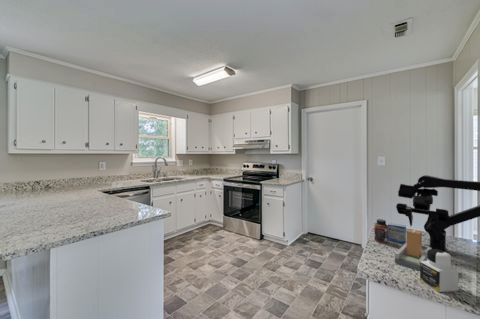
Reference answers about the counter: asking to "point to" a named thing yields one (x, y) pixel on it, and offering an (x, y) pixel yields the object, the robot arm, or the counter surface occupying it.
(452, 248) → the counter surface
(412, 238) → the fader knob
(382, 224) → the supplement bottle
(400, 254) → the fader console
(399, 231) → the medicine box
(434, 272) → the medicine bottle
